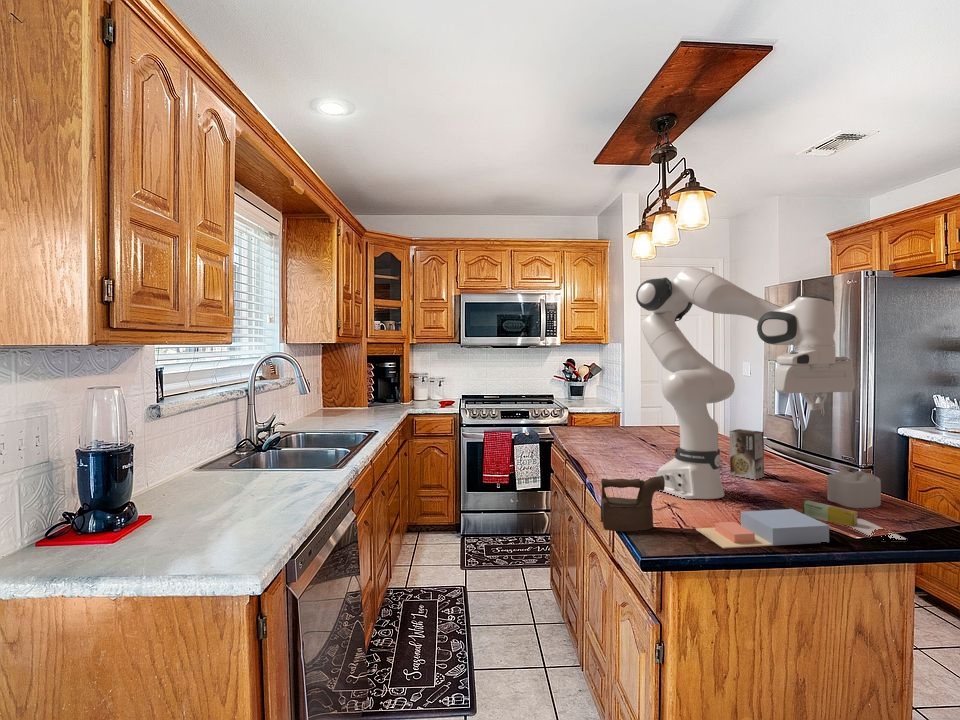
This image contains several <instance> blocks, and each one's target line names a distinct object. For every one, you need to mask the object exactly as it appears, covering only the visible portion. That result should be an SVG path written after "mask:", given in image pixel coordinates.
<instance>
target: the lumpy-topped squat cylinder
mask: <svg viewBox="0 0 960 720" xmlns="http://www.w3.org/2000/svg"><path fill="white" fill-rule="evenodd" d="M826 482H827V484H826V485H827V486H826V487H827V490H826V491H827V492H826V493H827V495H826V496H827V500H828V501H830V502H833V503H836V504H838V505H840V506H843V507H848V508H853V509H855V508H856V509H867V508H871V509H872V508H878V507H880V506H881V505H882V496H881V495H882V487H881V486H882V483H881V482H882V480H881V478H879V477H878V476H876V475H874V474H873V473H871V472H864V471H863V470H857V471H854V472H850V471H849V470H847V469H840V470H839V471H838V472H834V473H831V474H828V475H827V481H826Z"/></svg>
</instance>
